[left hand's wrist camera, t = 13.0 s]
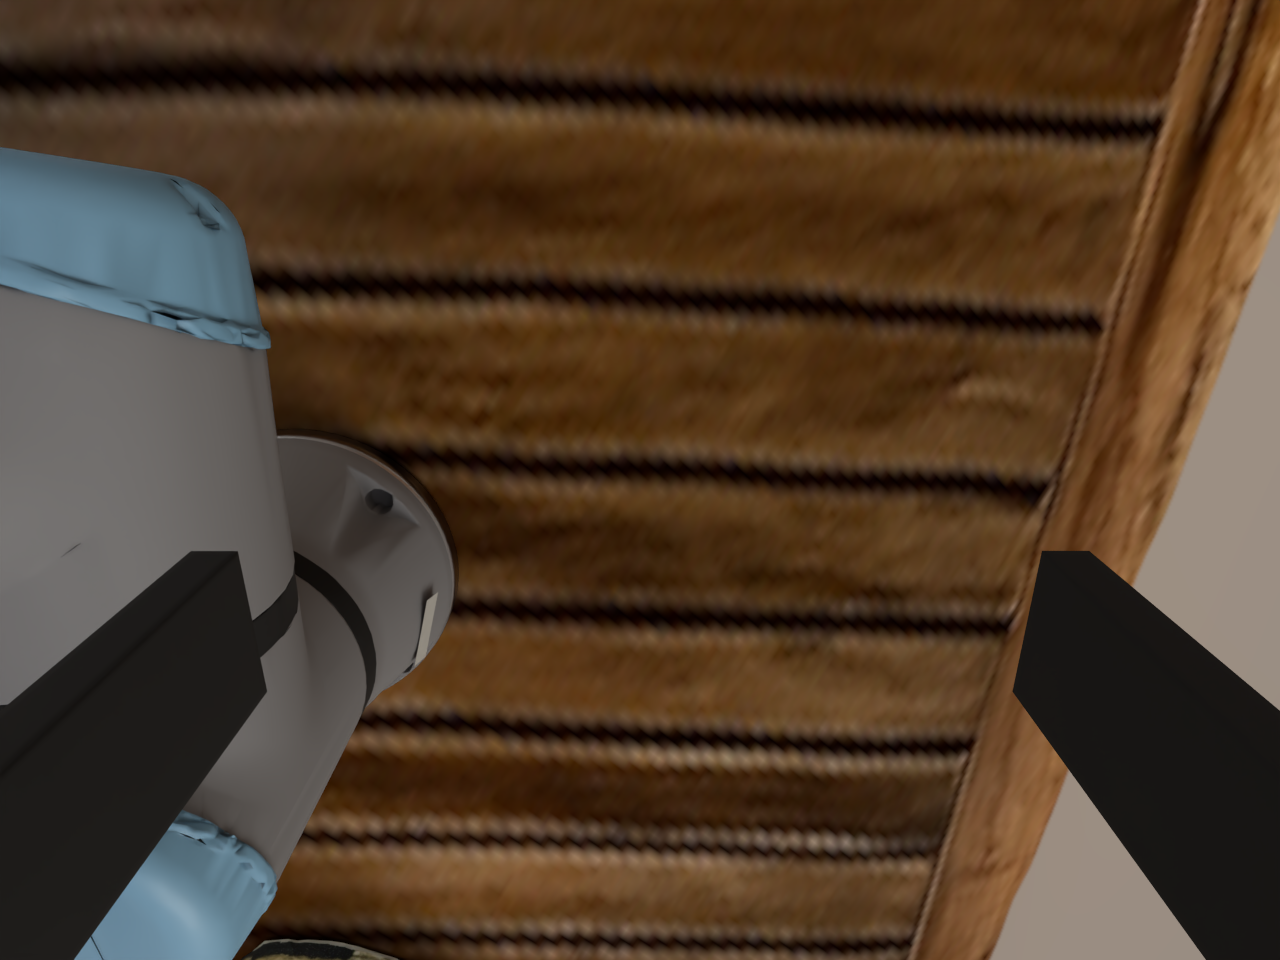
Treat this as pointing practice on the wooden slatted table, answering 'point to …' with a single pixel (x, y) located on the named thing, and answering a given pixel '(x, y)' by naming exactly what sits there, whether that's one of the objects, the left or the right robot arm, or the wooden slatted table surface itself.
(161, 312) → the left robot arm
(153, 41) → the wooden slatted table surface
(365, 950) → the fossil
